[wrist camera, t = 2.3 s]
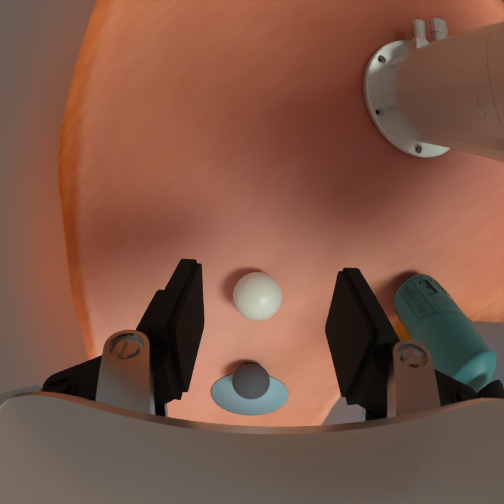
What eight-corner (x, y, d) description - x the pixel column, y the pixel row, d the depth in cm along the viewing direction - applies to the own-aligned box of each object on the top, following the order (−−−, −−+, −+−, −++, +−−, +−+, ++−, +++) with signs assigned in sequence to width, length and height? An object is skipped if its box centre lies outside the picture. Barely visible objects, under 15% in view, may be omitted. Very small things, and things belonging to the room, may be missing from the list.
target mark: (209, 369, 37) (208, 370, 37) (293, 373, 37) (293, 374, 37) (213, 411, 42) (213, 412, 42) (282, 415, 42) (282, 416, 42)
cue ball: (235, 262, 30) (230, 287, 25) (282, 264, 29) (286, 290, 25) (234, 300, 32) (230, 329, 27) (278, 303, 32) (280, 332, 27)
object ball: (233, 355, 35) (230, 383, 31) (271, 357, 35) (272, 385, 31) (233, 377, 38) (230, 405, 33) (267, 379, 38) (268, 406, 33)
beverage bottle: (386, 315, 32) (448, 447, 14) (387, 271, 30) (475, 411, 11) (427, 302, 31) (501, 417, 13) (432, 259, 29) (531, 374, 11)
